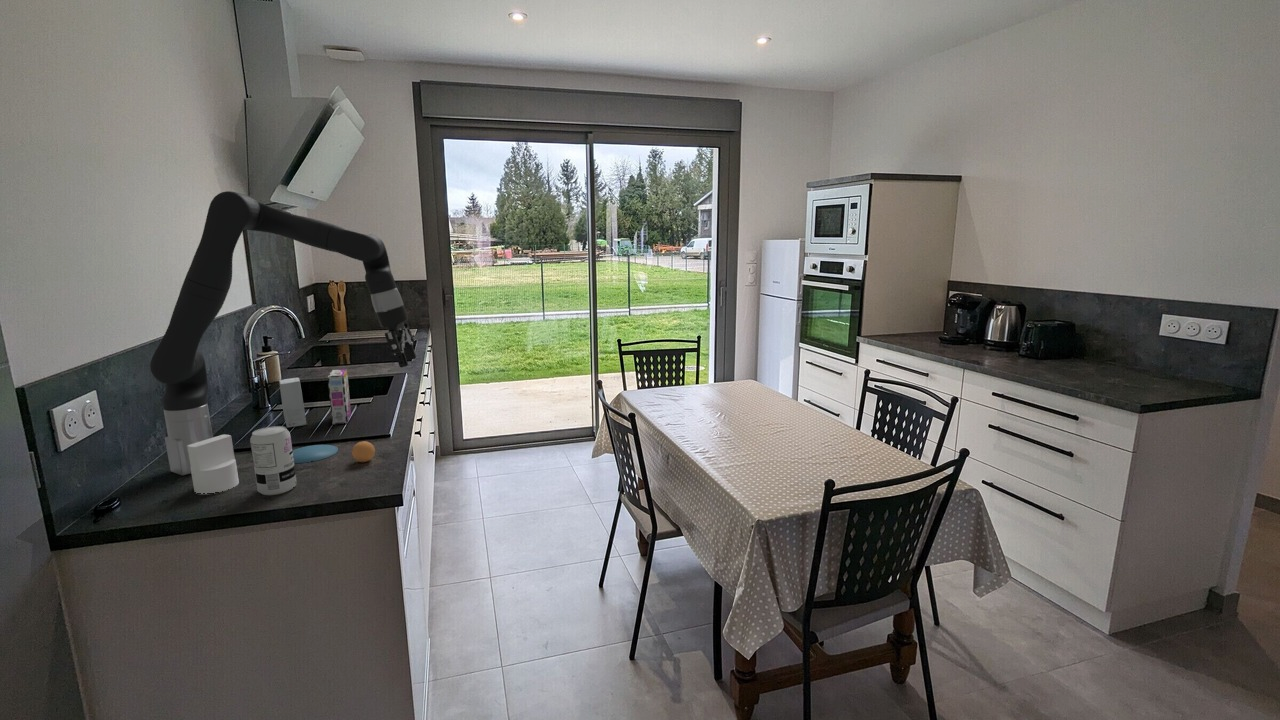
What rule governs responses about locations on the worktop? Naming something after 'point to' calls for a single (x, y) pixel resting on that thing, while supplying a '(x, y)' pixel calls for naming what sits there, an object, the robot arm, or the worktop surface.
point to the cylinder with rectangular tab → (213, 465)
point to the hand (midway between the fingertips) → (408, 362)
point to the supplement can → (273, 460)
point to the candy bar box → (339, 396)
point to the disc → (313, 453)
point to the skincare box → (292, 402)
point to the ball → (363, 451)
